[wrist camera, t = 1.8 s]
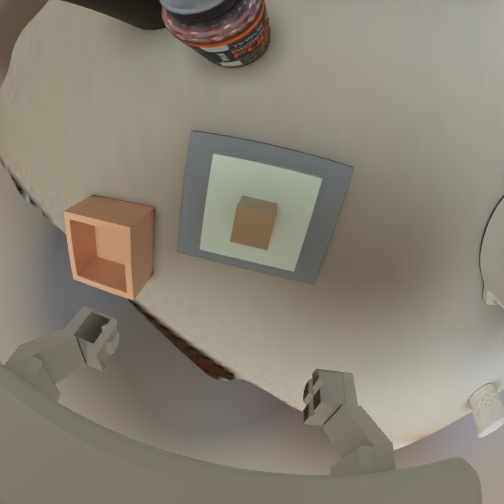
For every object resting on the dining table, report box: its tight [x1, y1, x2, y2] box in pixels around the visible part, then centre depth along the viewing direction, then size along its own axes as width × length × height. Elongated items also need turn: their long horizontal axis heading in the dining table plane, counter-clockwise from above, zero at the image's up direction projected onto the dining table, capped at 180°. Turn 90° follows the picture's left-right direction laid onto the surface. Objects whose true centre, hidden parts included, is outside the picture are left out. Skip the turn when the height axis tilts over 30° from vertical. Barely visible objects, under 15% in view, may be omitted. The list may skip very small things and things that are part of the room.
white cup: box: [469, 383, 504, 438], centre depth 32 cm, size 8×8×10 cm
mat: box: [177, 131, 353, 284], centre depth 24 cm, size 14×12×1 cm
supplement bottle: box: [159, 0, 270, 67], centre depth 13 cm, size 6×6×11 cm
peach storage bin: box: [64, 195, 155, 300], centre depth 26 cm, size 8×8×5 cm
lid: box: [200, 152, 322, 272], centre depth 22 cm, size 9×9×4 cm
